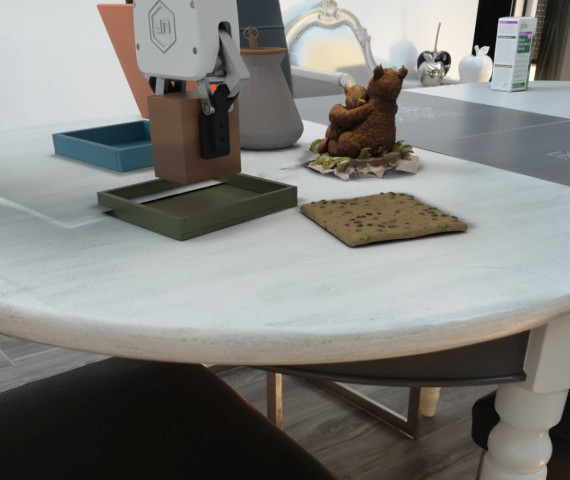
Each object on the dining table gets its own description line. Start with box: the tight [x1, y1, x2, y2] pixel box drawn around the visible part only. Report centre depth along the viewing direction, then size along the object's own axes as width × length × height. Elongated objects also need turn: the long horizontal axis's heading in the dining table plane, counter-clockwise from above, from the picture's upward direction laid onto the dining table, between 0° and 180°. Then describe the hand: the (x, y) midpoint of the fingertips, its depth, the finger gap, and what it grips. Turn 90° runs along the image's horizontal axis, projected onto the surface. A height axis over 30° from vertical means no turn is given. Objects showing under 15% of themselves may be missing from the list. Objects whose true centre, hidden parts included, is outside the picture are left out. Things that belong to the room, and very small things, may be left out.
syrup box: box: [490, 15, 538, 93], centre depth 144 cm, size 6×6×14 cm
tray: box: [96, 172, 299, 242], centre depth 67 cm, size 15×13×2 cm
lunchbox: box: [51, 119, 154, 173], centre depth 87 cm, size 15×16×3 cm
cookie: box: [299, 191, 468, 247], centre depth 63 cm, size 12×12×1 cm
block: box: [147, 90, 242, 186], centre depth 64 cm, size 7×5×8 cm
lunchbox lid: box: [95, 3, 198, 120], centre depth 86 cm, size 15×16×1 cm
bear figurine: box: [305, 62, 420, 181], centre depth 81 cm, size 14×15×12 cm
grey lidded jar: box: [238, 25, 305, 151], centre depth 94 cm, size 21×12×15 cm, turn 7°
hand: (196, 150), depth 65 cm, fingers closed on block, 5 cm apart
